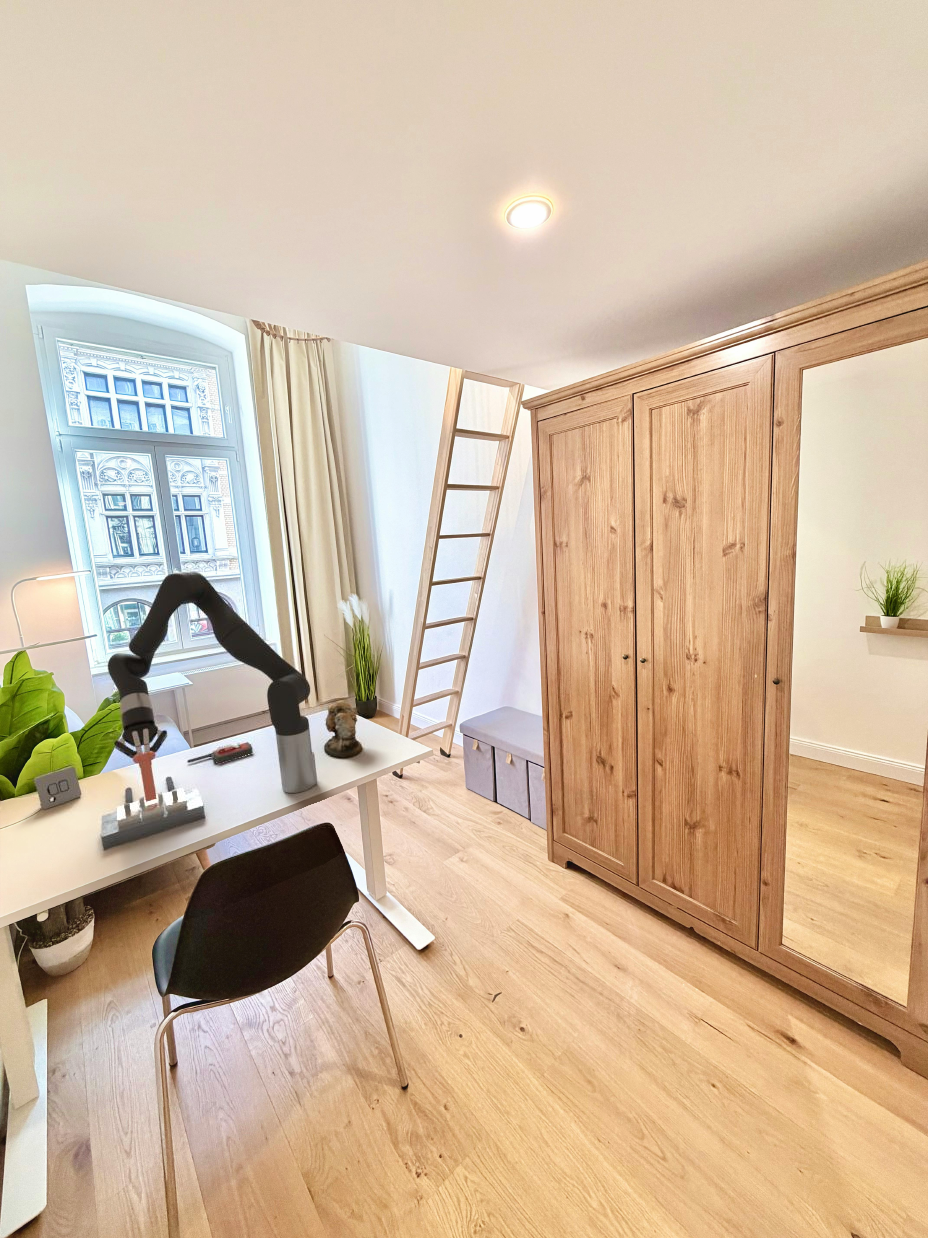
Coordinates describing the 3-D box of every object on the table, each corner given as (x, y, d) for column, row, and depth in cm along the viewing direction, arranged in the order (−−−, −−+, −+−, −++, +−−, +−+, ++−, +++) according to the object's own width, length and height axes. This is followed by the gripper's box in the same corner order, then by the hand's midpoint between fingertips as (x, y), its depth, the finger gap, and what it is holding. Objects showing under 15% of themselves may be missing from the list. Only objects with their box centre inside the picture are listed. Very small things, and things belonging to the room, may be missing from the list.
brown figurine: (315, 746, 175) (311, 699, 173) (347, 737, 182) (343, 692, 180) (337, 762, 161) (332, 711, 159) (370, 751, 168) (366, 702, 166)
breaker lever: (162, 795, 132) (154, 749, 132) (162, 797, 130) (154, 750, 130) (139, 802, 129) (132, 754, 130) (140, 804, 127) (132, 756, 128)
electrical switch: (42, 811, 140) (35, 779, 139) (38, 807, 144) (31, 776, 143) (82, 797, 148) (76, 766, 147) (77, 793, 151) (71, 764, 150)
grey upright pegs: (173, 779, 155) (172, 771, 155) (180, 805, 139) (179, 796, 139) (123, 793, 148) (122, 785, 148) (125, 822, 132) (123, 813, 132)
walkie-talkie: (249, 746, 179) (187, 764, 167) (248, 735, 178) (185, 752, 166) (257, 754, 172) (192, 773, 160) (255, 742, 172) (190, 760, 159)
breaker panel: (198, 799, 142) (194, 773, 141) (205, 817, 132) (201, 789, 131) (104, 828, 130) (99, 800, 128) (103, 850, 120) (97, 820, 119)
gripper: (107, 712, 136) (114, 769, 128) (163, 700, 143) (173, 755, 135) (110, 725, 141) (118, 781, 133) (164, 713, 149) (174, 766, 140)
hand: (146, 768), depth 134 cm, fingers closed
